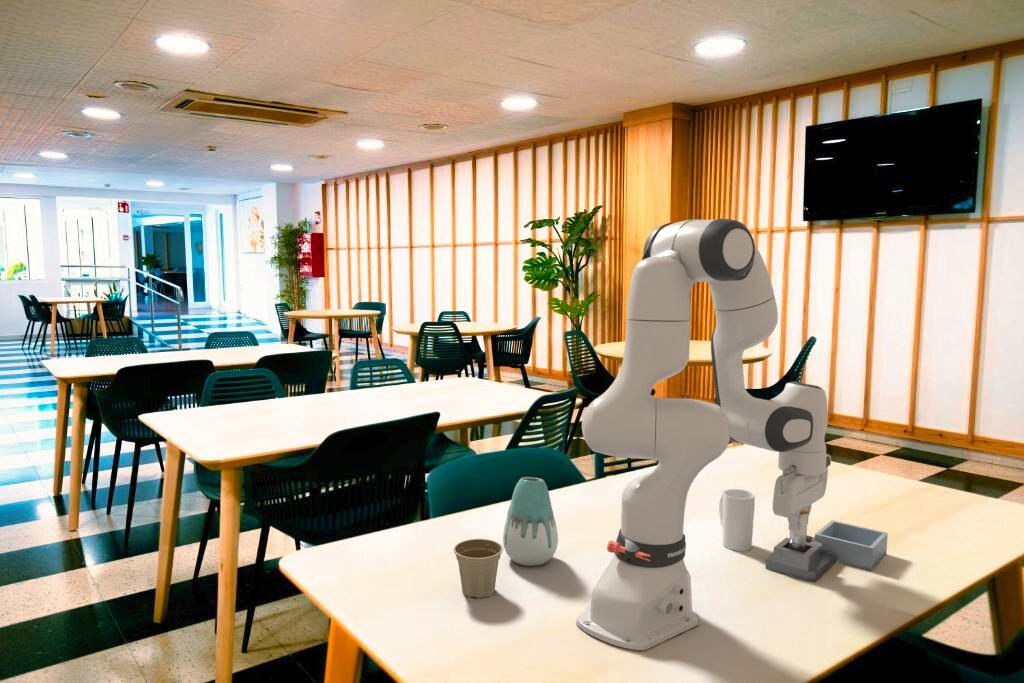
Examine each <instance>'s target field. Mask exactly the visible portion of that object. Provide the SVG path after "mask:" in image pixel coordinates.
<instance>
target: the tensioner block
mask: <svg viewBox="0 0 1024 683" xmlns="http://www.w3.org/2000/svg"><path fill="white" fill-rule="evenodd" d="M789 539H790V537H785V538H784V539H783V540H781V541H780V542H778V543H777V544H776V545H774V547H773V553H772V554H771V555H770V556H768V557H767V558H765V569H766V570H770V571H772V572H776V573H780V574H783V575H787V576H790V577H794V578H798V579H801V580H803V581H808V582H811V583H817V582H818V581H819V580H820V579H821V578H822V577H823V576H824V575H825V574H826V573H828V571H829V570H831V568H832V567H833V566H835V564H837V562H836V553H832V552H828V551H824V550H822V541H821V540H819V539H817V538H815V536H810V535H807V537H806V552H805V553H802V552H799V551H795V550H791V549H789Z"/></svg>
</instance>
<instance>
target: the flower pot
mask: <svg viewBox="0 0 1024 683" xmlns="http://www.w3.org/2000/svg"><path fill="white" fill-rule="evenodd" d="M452 549H453V553H454V555H455V558H456V560H457V563H458V571H459V576H460V584H461V591H462V593H463V595H465V596H467V597H469V598H473V597H476V598H477V599H483V598H487V597H490V596H492V595H493V594H494V592H495V590H496V580H497V574H498V566H499V560H500V559H501V555H502V553H503V551H504V545H502V544H501V543H500V542H498V541H495V540H493V539H488V538H471V539H465V540H462V541H460V542H458V543H456V544H455V545H454V547H453V548H452Z"/></svg>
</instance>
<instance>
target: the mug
mask: <svg viewBox="0 0 1024 683" xmlns="http://www.w3.org/2000/svg"><path fill="white" fill-rule="evenodd" d="M755 497H756V494H755V493H754V492H752V491H749V490H744V489H740V488H738V489H736V488H728V489H726V490H724V491H722V492H721V496H720V498H719V501H718V514H719V520H720V521H719V522H720V526H722V546H724V547H725V548H726V549H729V550H731V551H732V550H733V551H735V552H736V551H739V552H744V551H749V550H751V549H752V543H753V532H754V519H755V518H754V517H755V505H756V504H755V503H756V502H755V501H756V500H755V499H756V498H755Z"/></svg>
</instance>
